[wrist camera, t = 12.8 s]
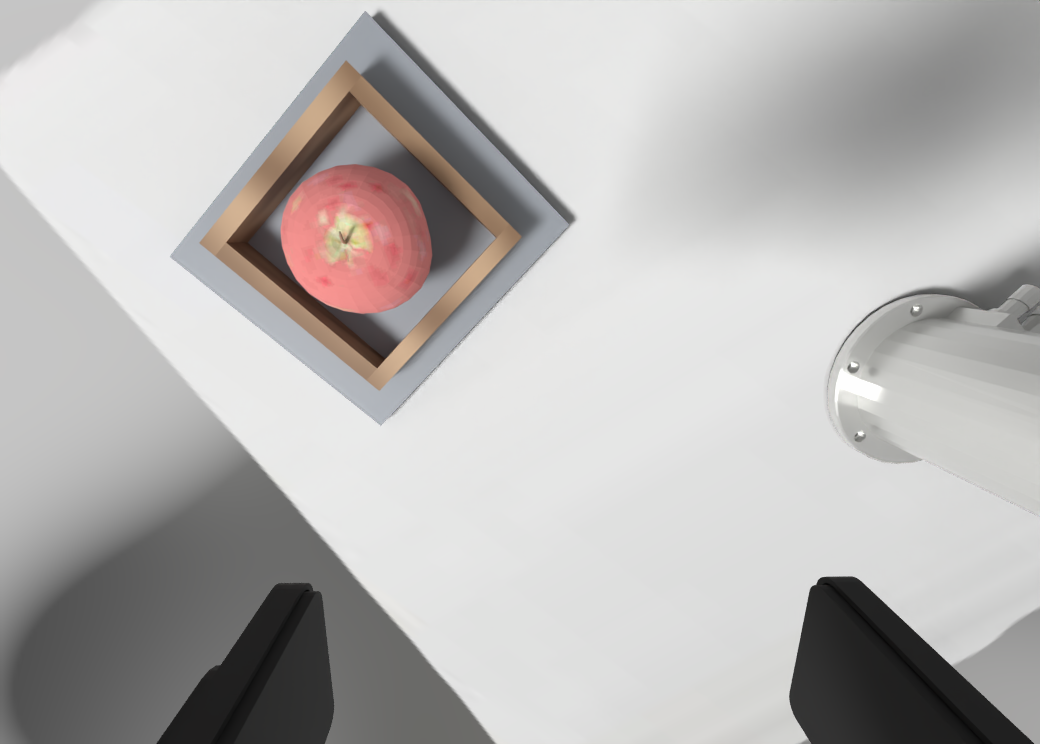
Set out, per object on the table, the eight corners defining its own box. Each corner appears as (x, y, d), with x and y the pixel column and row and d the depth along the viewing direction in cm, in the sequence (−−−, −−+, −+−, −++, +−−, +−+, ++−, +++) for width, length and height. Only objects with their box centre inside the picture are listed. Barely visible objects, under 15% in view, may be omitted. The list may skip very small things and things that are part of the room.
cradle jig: (369, 19, 27) (353, -13, 24) (566, 225, 31) (577, 223, 27) (179, 256, 29) (140, 257, 26) (383, 420, 33) (372, 440, 30)
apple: (305, 179, 28) (237, 154, 20) (431, 175, 28) (412, 149, 21) (323, 306, 30) (268, 327, 22) (442, 300, 30) (428, 319, 23)
